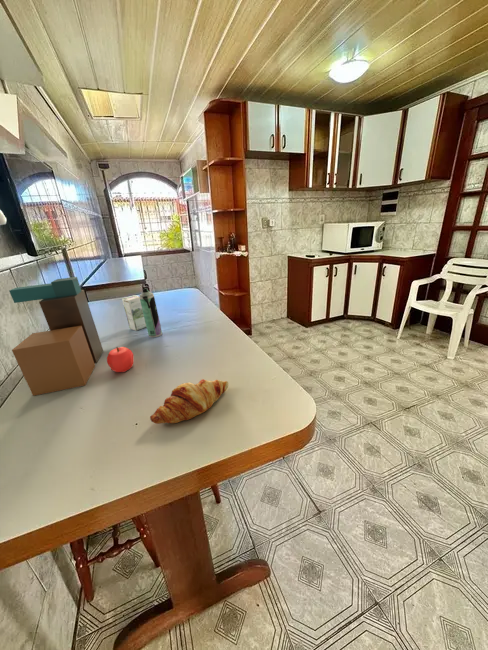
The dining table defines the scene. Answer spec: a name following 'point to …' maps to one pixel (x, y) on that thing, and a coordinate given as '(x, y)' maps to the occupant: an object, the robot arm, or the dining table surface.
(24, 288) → the teal stepped bar
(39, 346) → the carton
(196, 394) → the croissant
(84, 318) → the stand
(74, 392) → the dining table surface
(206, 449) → the dining table surface
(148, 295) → the spray can
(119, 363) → the apple
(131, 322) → the syrup box
